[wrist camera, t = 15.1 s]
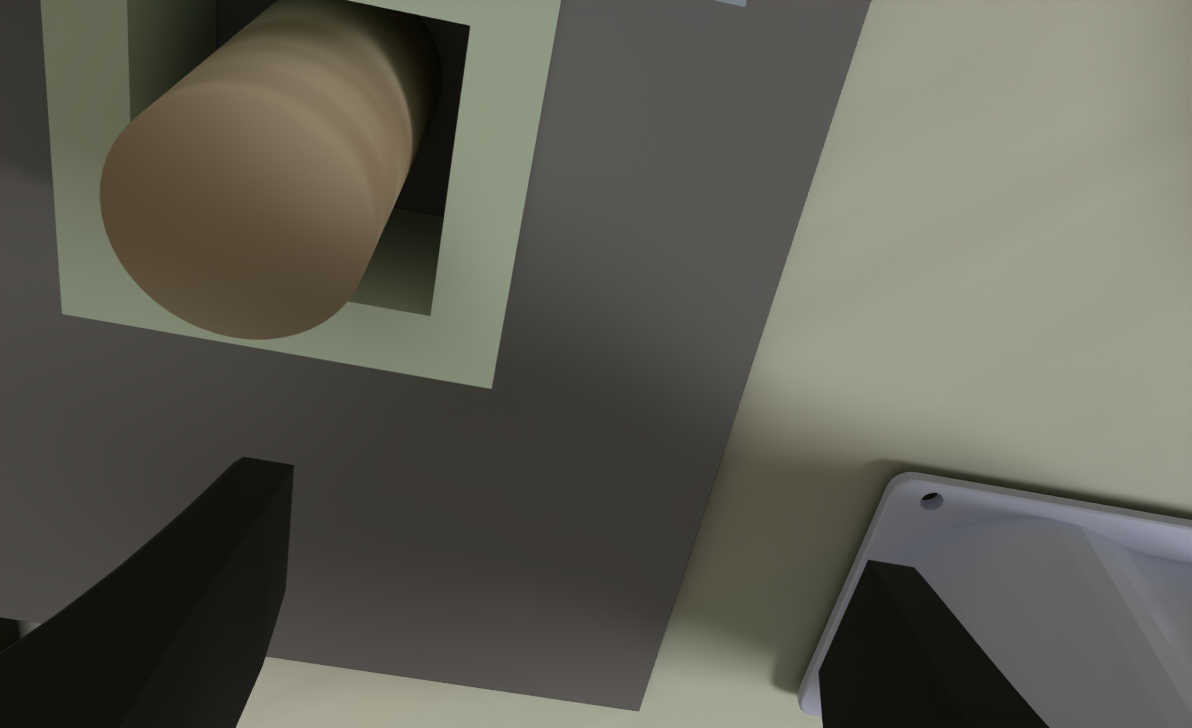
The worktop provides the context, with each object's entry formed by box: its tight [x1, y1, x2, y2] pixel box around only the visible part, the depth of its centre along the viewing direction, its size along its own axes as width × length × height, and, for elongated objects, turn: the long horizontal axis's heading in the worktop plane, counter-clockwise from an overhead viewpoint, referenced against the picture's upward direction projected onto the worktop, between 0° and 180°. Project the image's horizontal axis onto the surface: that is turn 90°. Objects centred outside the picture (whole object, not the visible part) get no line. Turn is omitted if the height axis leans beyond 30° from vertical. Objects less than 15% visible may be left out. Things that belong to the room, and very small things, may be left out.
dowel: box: [100, 0, 442, 340], centre depth 16 cm, size 3×3×7 cm
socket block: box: [40, 0, 561, 389], centre depth 18 cm, size 7×7×4 cm
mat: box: [0, 0, 871, 711], centre depth 21 cm, size 19×24×1 cm
